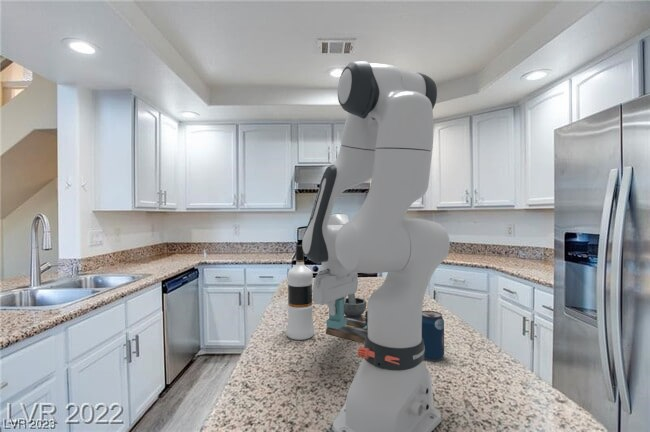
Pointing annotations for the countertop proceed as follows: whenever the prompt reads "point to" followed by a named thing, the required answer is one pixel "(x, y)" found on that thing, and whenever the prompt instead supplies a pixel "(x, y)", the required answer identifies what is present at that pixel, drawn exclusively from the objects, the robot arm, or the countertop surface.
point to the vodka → (300, 299)
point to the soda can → (433, 335)
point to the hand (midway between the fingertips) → (337, 313)
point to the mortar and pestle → (354, 307)
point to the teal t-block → (337, 316)
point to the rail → (352, 330)
